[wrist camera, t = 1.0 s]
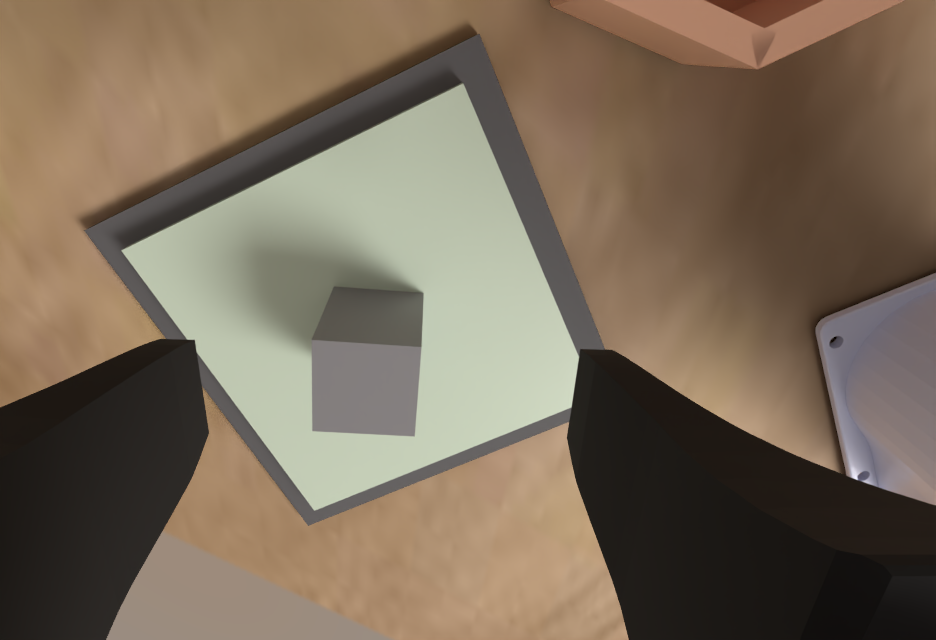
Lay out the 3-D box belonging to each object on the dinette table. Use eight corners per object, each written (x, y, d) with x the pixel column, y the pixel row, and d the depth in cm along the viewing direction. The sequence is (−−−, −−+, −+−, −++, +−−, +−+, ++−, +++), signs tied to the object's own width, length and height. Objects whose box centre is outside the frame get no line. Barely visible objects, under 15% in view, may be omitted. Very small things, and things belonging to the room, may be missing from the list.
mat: (621, 393, 23) (624, 399, 23) (310, 518, 25) (308, 525, 25) (478, 33, 18) (479, 33, 17) (90, 227, 20) (84, 231, 19)
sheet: (592, 389, 23) (627, 465, 19) (317, 500, 24) (292, 594, 20) (462, 82, 18) (471, 93, 14) (129, 245, 20) (47, 299, 15)
